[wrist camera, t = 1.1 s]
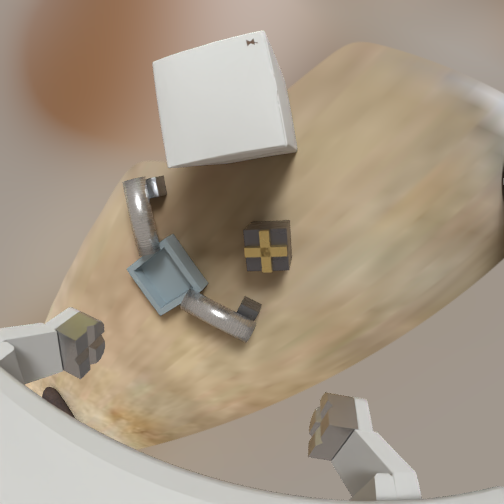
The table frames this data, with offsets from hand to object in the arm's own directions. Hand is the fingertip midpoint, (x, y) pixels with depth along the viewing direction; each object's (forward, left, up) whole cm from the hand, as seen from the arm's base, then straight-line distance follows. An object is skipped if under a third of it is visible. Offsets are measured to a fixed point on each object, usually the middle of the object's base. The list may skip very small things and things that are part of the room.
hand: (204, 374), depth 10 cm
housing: (+15, +6, -27) cm, 32 cm away
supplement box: (+2, -12, -28) cm, 30 cm away
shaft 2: (+8, +10, -27) cm, 30 cm away
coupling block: (+1, +2, -27) cm, 27 cm away
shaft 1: (+16, -2, -27) cm, 32 cm away
